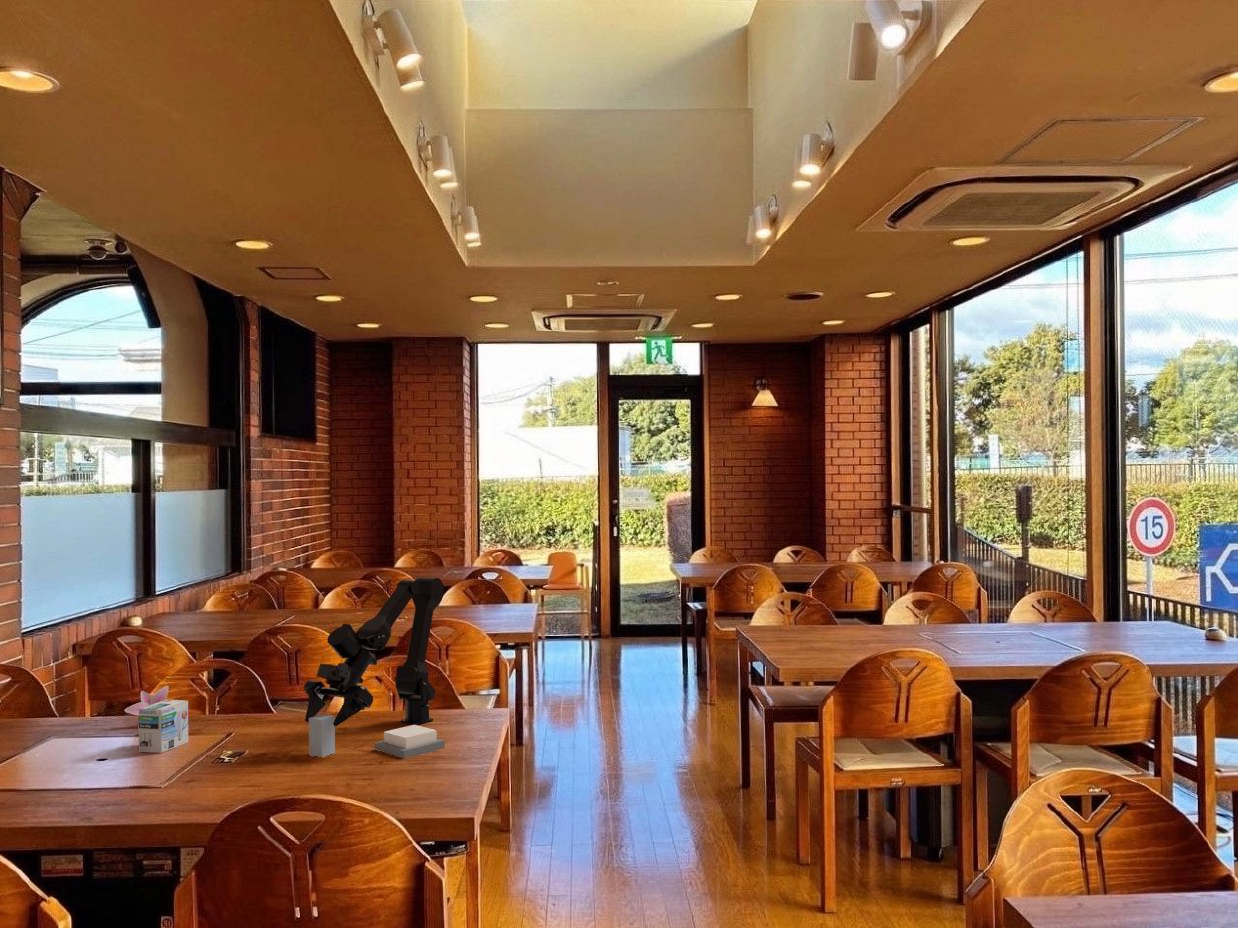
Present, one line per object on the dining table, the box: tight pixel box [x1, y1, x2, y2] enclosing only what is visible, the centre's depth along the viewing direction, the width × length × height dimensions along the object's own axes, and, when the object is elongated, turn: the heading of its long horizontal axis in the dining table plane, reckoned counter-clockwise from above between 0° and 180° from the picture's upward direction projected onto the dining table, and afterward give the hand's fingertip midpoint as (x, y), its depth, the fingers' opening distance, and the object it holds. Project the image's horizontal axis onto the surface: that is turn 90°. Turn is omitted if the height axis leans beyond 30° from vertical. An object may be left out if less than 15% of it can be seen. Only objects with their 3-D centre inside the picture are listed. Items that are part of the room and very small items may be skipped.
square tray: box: [374, 738, 446, 760], centre depth 233 cm, size 12×12×2 cm
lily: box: [124, 685, 170, 730], centre depth 263 cm, size 12×12×10 cm
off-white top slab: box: [383, 724, 438, 748], centre depth 234 cm, size 9×9×2 cm
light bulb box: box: [138, 699, 189, 754], centre depth 239 cm, size 11×7×11 cm, turn 168°
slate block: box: [308, 713, 336, 758], centre depth 230 cm, size 4×4×9 cm
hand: (320, 723), depth 230 cm, fingers open, 9 cm apart
